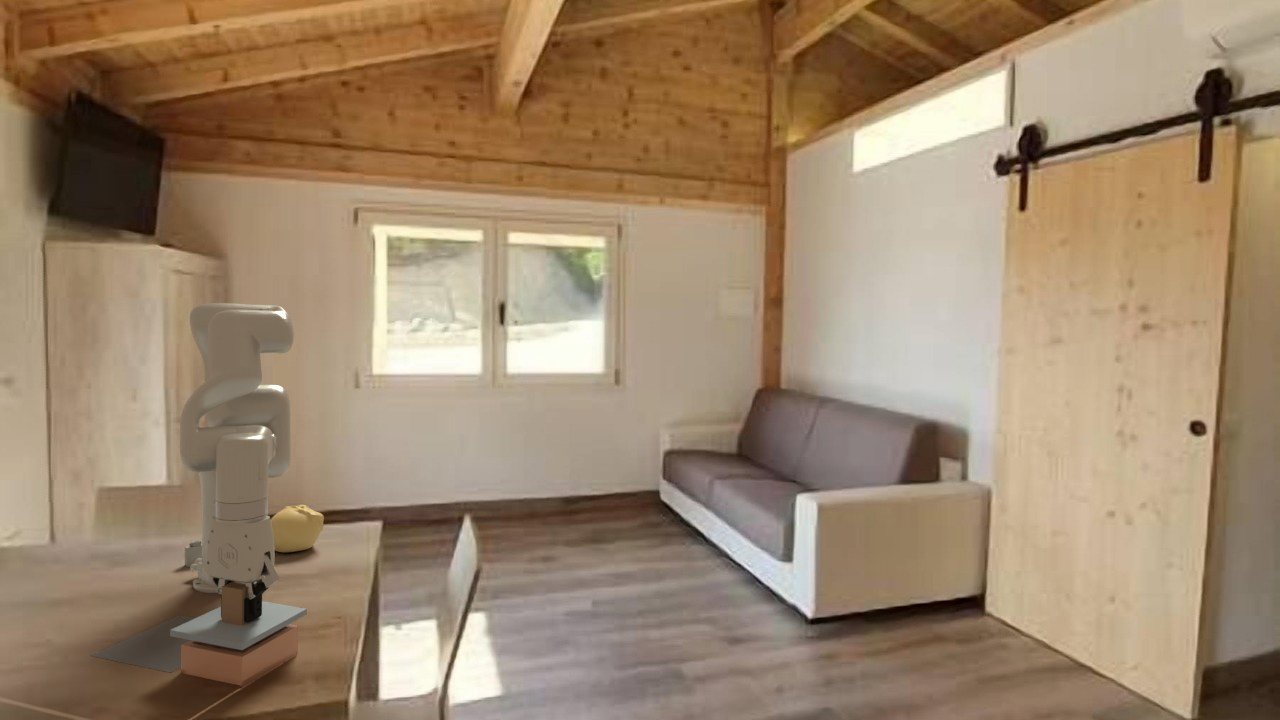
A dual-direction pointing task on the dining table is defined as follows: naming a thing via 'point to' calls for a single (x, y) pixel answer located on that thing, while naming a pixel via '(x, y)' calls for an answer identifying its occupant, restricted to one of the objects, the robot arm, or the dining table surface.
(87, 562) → the dining table surface
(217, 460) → the robot arm
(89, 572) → the dining table surface
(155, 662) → the mat
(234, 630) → the lid
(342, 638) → the dining table surface
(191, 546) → the lighter
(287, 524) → the sculpture
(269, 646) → the peach open tray
